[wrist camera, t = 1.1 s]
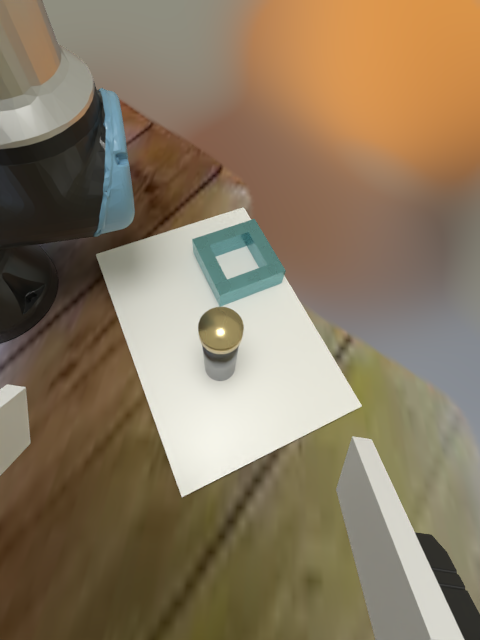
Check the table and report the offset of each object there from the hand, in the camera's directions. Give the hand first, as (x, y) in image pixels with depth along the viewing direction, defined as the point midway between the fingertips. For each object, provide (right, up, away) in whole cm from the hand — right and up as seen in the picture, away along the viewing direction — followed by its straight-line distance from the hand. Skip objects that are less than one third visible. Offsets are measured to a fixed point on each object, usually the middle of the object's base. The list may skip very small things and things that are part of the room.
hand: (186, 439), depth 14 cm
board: (-1, +4, +30) cm, 30 cm away
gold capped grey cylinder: (0, -1, +27) cm, 27 cm away
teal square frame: (+2, +12, +33) cm, 35 cm away
